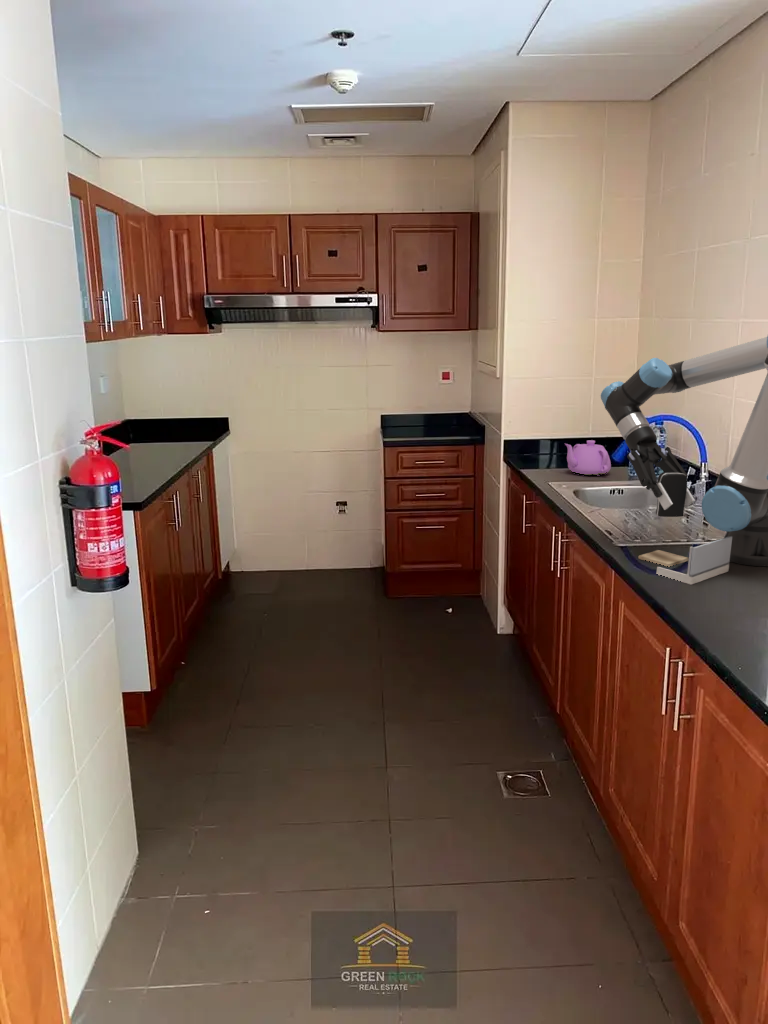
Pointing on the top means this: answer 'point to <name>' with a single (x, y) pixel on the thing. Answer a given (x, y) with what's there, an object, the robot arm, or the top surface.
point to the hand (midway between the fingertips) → (679, 505)
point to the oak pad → (663, 558)
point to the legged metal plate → (703, 562)
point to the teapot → (588, 458)
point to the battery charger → (673, 493)
